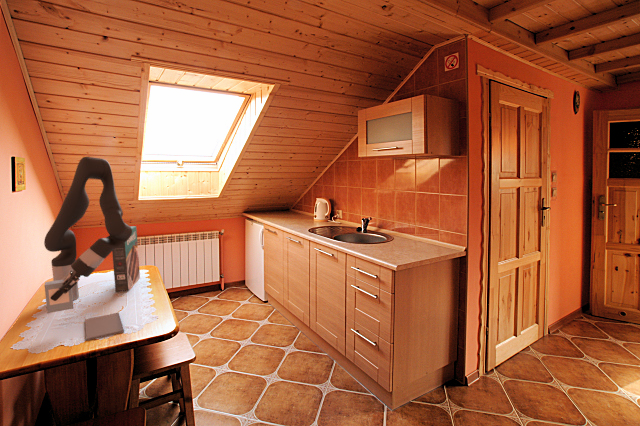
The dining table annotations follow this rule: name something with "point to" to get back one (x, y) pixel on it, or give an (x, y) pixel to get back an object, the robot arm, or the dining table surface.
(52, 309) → the slab
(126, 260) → the cake mix box
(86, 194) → the robot arm
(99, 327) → the slate board
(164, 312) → the dining table surface
